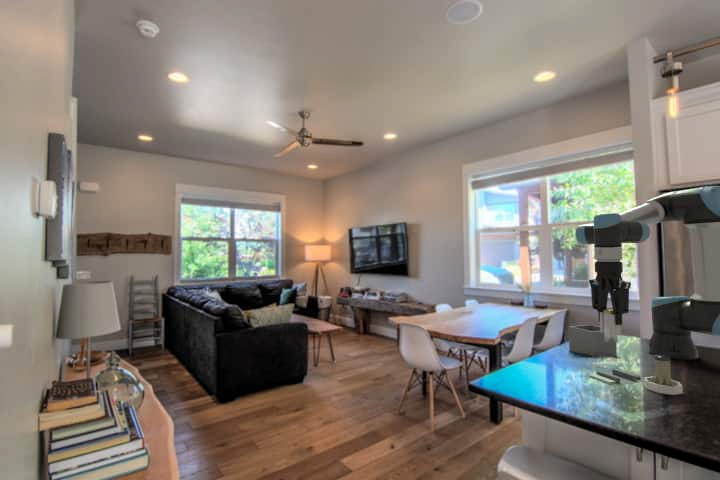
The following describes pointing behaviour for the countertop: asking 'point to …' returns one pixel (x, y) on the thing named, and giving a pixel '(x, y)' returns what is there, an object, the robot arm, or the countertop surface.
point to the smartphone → (584, 354)
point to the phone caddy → (590, 341)
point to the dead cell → (662, 370)
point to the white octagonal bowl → (663, 386)
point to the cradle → (616, 377)
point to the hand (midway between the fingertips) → (610, 333)
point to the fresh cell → (608, 326)
